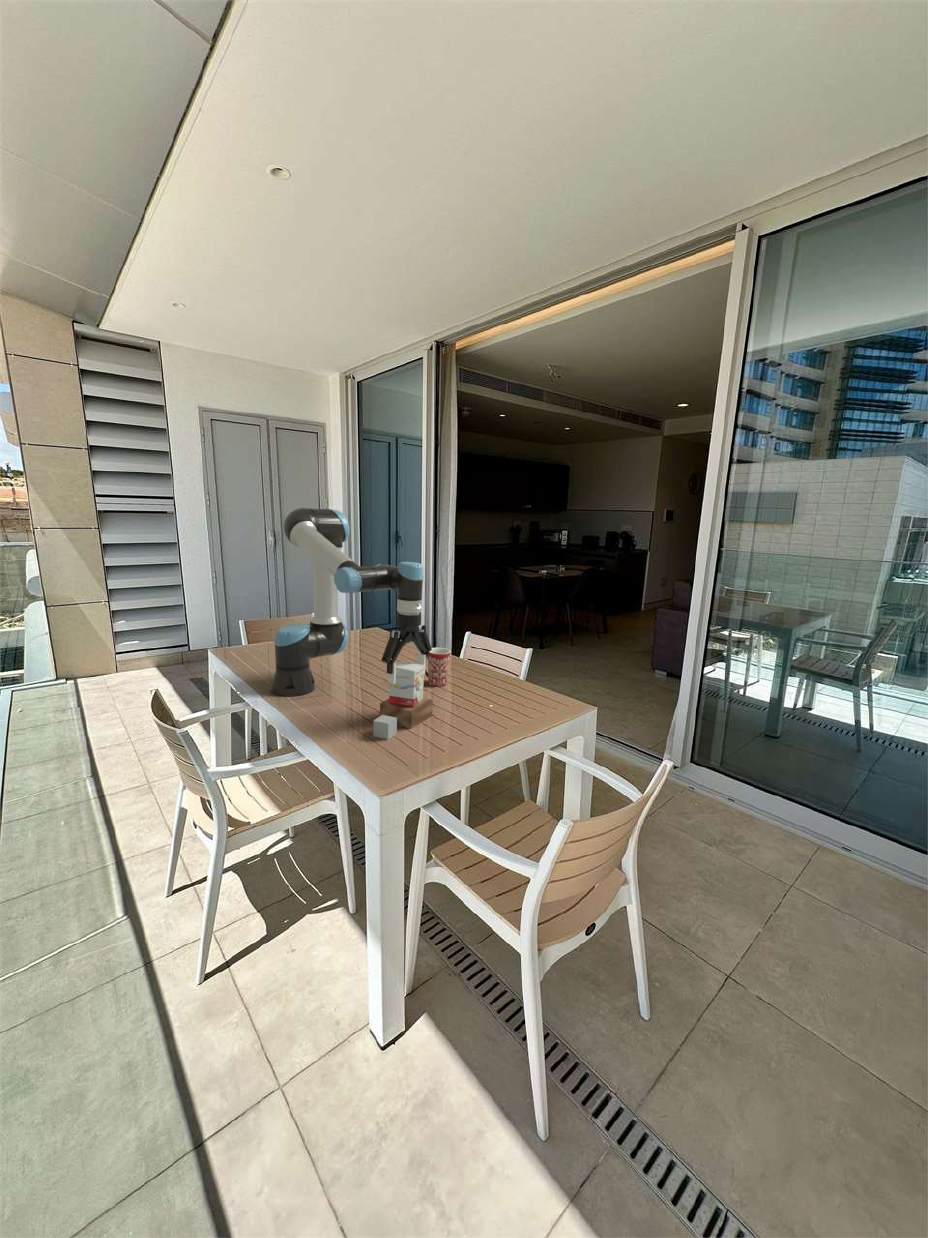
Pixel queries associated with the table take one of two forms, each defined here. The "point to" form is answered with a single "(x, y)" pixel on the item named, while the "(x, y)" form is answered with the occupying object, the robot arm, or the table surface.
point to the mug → (438, 667)
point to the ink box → (407, 684)
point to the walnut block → (408, 712)
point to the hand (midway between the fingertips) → (406, 678)
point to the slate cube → (385, 727)
